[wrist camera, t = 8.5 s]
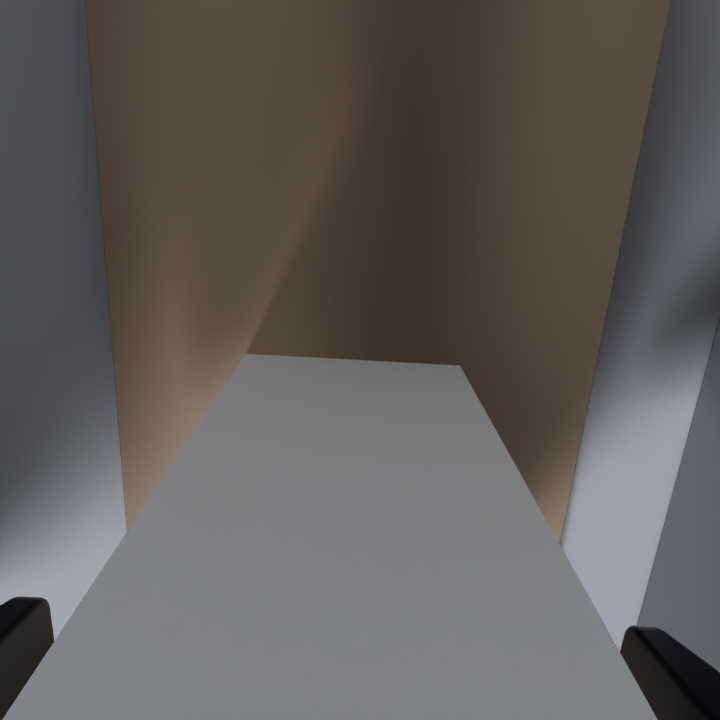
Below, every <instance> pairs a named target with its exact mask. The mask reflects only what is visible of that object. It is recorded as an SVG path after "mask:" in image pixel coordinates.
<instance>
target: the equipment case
mask: <svg viewBox="0 0 720 720" xmlns="http://www.w3.org/2000/svg"><path fill="white" fill-rule="evenodd" d="M637 626H652V627H658V628H660V629H662V630H663V631H665V632H666V633H668V634H669V635H670V636H672V637H673V638H674V639H676V640H677V641H678V642H680V643H681V644H682V645H684V646H685V647H686V648H688V649H689V650H691V651H692V652H693V653H695V654H696V655H697V656H699V657H700V658H701V659H703V660H704V661H705V662H707V663H708V664H709V665H711V666H712V667H713V668H715V669H716V670H718V671H719V672H720V321H719V324H718V328H717V332H716V336H715V339H714V343H713V347H712V350H711V354H710V358H709V361H708V365H707V369H706V373H705V376H704V380H703V384H702V387H701V391H700V395H699V399H698V402H697V406H696V410H695V413H694V417H693V421H692V424H691V428H690V432H689V436H688V439H687V443H686V447H685V450H684V454H683V458H682V461H681V465H680V469H679V473H678V476H677V480H676V484H675V487H674V491H673V495H672V499H671V502H670V506H669V510H668V513H667V517H666V521H665V524H664V528H663V532H662V536H661V539H660V543H659V547H658V550H657V554H656V558H655V561H654V565H653V569H652V573H651V576H650V580H649V584H648V587H647V591H646V595H645V599H644V602H643V606H642V610H641V613H640V617H639V621H638V624H637Z"/></svg>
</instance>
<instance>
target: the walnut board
mask: <svg viewBox="0 0 720 720" xmlns="http://www.w3.org/2000/svg"><path fill="white" fill-rule="evenodd" d="M670 1H671V0H85V7H86V20H87V33H88V45H89V58H90V71H91V83H92V96H93V109H94V121H95V134H96V147H97V159H98V172H99V185H100V197H101V210H102V223H103V235H104V248H105V261H106V273H107V286H108V299H109V311H110V324H111V337H112V349H113V362H114V375H115V388H116V400H117V413H118V426H119V438H120V451H121V464H122V476H123V489H124V502H125V514H126V527H127V531H128V530H129V528H130V527H131V525H132V524H133V522H134V521H135V519H136V518H137V516H138V515H139V513H140V512H141V510H142V509H143V507H144V506H145V504H146V503H147V501H148V500H149V498H150V497H151V495H152V494H153V492H154V491H155V489H156V488H157V486H158V485H159V483H160V482H161V480H162V479H163V477H164V476H165V474H166V473H167V471H168V470H169V468H170V467H171V465H172V464H173V462H174V461H175V459H176V458H177V456H178V455H179V453H180V452H181V450H182V449H183V447H184V446H185V444H186V443H187V441H188V440H189V438H190V437H191V435H192V434H193V432H194V431H195V429H196V428H197V426H198V425H199V423H200V422H201V420H202V419H203V417H204V416H205V414H206V413H207V411H208V410H209V408H210V407H211V405H212V404H213V402H214V401H215V399H216V398H217V396H218V395H219V393H220V392H221V390H222V388H223V387H224V385H225V384H226V382H227V381H228V379H229V378H230V376H231V375H232V373H233V372H234V370H235V369H236V367H237V366H238V364H239V363H240V361H241V360H242V358H243V357H244V355H245V354H259V355H278V356H296V357H314V358H332V359H350V360H369V361H387V362H405V363H423V364H442V365H460V367H461V368H462V370H463V372H464V374H465V375H466V377H467V379H468V381H469V383H470V384H471V386H472V388H473V390H474V392H475V393H476V395H477V397H478V399H479V401H480V402H481V404H482V406H483V408H484V410H485V411H486V413H487V415H488V417H489V418H490V420H491V422H492V424H493V426H494V427H495V429H496V431H497V433H498V435H499V436H500V438H501V440H502V442H503V444H504V445H505V447H506V449H507V451H508V453H509V454H510V456H511V458H512V460H513V462H514V463H515V465H516V467H517V469H518V470H519V472H520V474H521V476H522V478H523V479H524V481H525V483H526V485H527V487H528V488H529V490H530V492H531V494H532V496H533V497H534V499H535V501H536V503H537V505H538V506H539V508H540V510H541V512H542V513H543V515H544V517H545V519H546V521H547V522H548V524H549V526H550V528H551V530H552V531H553V533H554V535H555V537H556V539H557V540H558V542H559V544H560V539H561V534H562V529H563V524H564V519H565V515H566V510H567V505H568V500H569V495H570V490H571V485H572V480H573V475H574V471H575V466H576V461H577V456H578V451H579V446H580V441H581V436H582V431H583V427H584V422H585V417H586V412H587V407H588V402H589V397H590V392H591V387H592V383H593V378H594V373H595V368H596V363H597V358H598V353H599V348H600V343H601V339H602V334H603V329H604V324H605V319H606V314H607V309H608V304H609V299H610V295H611V290H612V285H613V280H614V275H615V270H616V265H617V260H618V255H619V251H620V246H621V241H622V236H623V231H624V226H625V221H626V216H627V211H628V207H629V202H630V197H631V192H632V187H633V182H634V177H635V172H636V167H637V163H638V158H639V153H640V148H641V143H642V138H643V133H644V128H645V123H646V119H647V114H648V109H649V104H650V99H651V94H652V89H653V84H654V79H655V75H656V70H657V65H658V60H659V55H660V50H661V45H662V40H663V35H664V31H665V26H666V21H667V16H668V11H669V6H670Z"/></svg>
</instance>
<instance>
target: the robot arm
mask: <svg viewBox="0 0 720 720" xmlns="http://www.w3.org/2000/svg"><path fill="white" fill-rule="evenodd" d="M53 643H54V635H53V628H52V621H51V613H50V607H49V603H48V602H47V600H46V599H44V598H39V597H15V598H12V599H11V600H9V601H7V602H5V603H4V604H2V605H0V720H2V719H3V718H4V716H5V715H6V713H7V712H8V710H9V709H10V707H11V706H12V704H13V703H14V701H15V700H16V698H17V697H18V695H19V694H20V692H21V691H22V689H23V688H24V686H25V685H26V683H27V682H28V680H29V679H30V677H31V676H32V674H33V673H34V671H35V670H36V668H37V667H38V665H39V664H40V662H41V661H42V659H43V658H44V656H45V655H46V653H47V652H48V650H49V649H50V647H51V646H52V644H53ZM620 653H621V655H622V657H623V659H624V660H625V662H626V664H627V666H628V668H629V669H630V671H631V673H632V675H633V677H634V678H635V680H636V682H637V684H638V686H639V687H640V689H641V691H642V693H643V695H644V696H645V698H646V700H647V702H648V703H649V705H650V707H651V709H652V711H653V712H654V714H655V716H656V718H657V720H720V672H719V671H718V670H716V669H715V668H713V667H712V666H711V665H709V664H708V663H707V662H705V661H704V660H703V659H701V658H700V657H699V656H697V655H696V654H695V653H693V652H692V651H691V650H689V649H688V648H686V647H685V646H684V645H682V644H681V643H680V642H678V641H677V640H676V639H674V638H673V637H672V636H670V635H669V634H668V633H666V632H665V631H663V630H662V629H660V628H658V627H652V626H631V627H629V628H628V629H627V630H626V632H625V635H624V638H623V642H622V646H621V650H620Z"/></svg>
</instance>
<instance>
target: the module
mask: <svg viewBox="0 0 720 720" xmlns="http://www.w3.org/2000/svg"><path fill="white" fill-rule="evenodd" d="M2 720H657V718H656V716H655V714H654V712H653V711H652V709H651V707H650V705H649V703H648V702H647V700H646V698H645V696H644V695H643V693H642V691H641V689H640V687H639V686H638V684H637V682H636V680H635V678H634V677H633V675H632V673H631V671H630V669H629V668H628V666H627V664H626V662H625V660H624V659H623V657H622V655H621V653H620V652H619V650H618V648H617V646H616V644H615V643H614V641H613V639H612V637H611V635H610V634H609V632H608V630H607V628H606V626H605V625H604V623H603V621H602V619H601V617H600V616H599V614H598V612H597V610H596V608H595V607H594V605H593V603H592V601H591V600H590V598H589V596H588V594H587V592H586V591H585V589H584V587H583V585H582V583H581V582H580V580H579V578H578V576H577V574H576V573H575V571H574V569H573V567H572V565H571V564H570V562H569V560H568V558H567V557H566V555H565V553H564V551H563V549H562V548H561V546H560V544H559V542H558V540H557V539H556V537H555V535H554V533H553V531H552V530H551V528H550V526H549V524H548V522H547V521H546V519H545V517H544V515H543V513H542V512H541V510H540V508H539V506H538V505H537V503H536V501H535V499H534V497H533V496H532V494H531V492H530V490H529V488H528V487H527V485H526V483H525V481H524V479H523V478H522V476H521V474H520V472H519V470H518V469H517V467H516V465H515V463H514V462H513V460H512V458H511V456H510V454H509V453H508V451H507V449H506V447H505V445H504V444H503V442H502V440H501V438H500V436H499V435H498V433H497V431H496V429H495V427H494V426H493V424H492V422H491V420H490V418H489V417H488V415H487V413H486V411H485V410H484V408H483V406H482V404H481V402H480V401H479V399H478V397H477V395H476V393H475V392H474V390H473V388H472V386H471V384H470V383H469V381H468V379H467V377H466V375H465V374H464V372H463V370H462V368H461V367H460V365H442V364H423V363H405V362H387V361H369V360H350V359H332V358H314V357H296V356H278V355H259V354H245V355H244V357H243V358H242V360H241V361H240V363H239V364H238V366H237V367H236V369H235V370H234V372H233V373H232V375H231V376H230V378H229V379H228V381H227V382H226V384H225V385H224V387H223V388H222V390H221V392H220V393H219V395H218V396H217V398H216V399H215V401H214V402H213V404H212V405H211V407H210V408H209V410H208V411H207V413H206V414H205V416H204V417H203V419H202V420H201V422H200V423H199V425H198V426H197V428H196V429H195V431H194V432H193V434H192V435H191V437H190V438H189V440H188V441H187V443H186V444H185V446H184V447H183V449H182V450H181V452H180V453H179V455H178V456H177V458H176V459H175V461H174V462H173V464H172V465H171V467H170V468H169V470H168V471H167V473H166V474H165V476H164V477H163V479H162V480H161V482H160V483H159V485H158V486H157V488H156V489H155V491H154V492H153V494H152V495H151V497H150V498H149V500H148V501H147V503H146V504H145V506H144V507H143V509H142V510H141V512H140V513H139V515H138V516H137V518H136V519H135V521H134V522H133V524H132V525H131V527H130V528H129V530H128V531H127V533H126V534H125V536H124V537H123V539H122V540H121V542H120V543H119V545H118V546H117V548H116V549H115V551H114V552H113V554H112V555H111V557H110V558H109V560H108V561H107V563H106V564H105V566H104V567H103V569H102V570H101V572H100V573H99V575H98V577H97V578H96V580H95V581H94V583H93V584H92V586H91V587H90V589H89V590H88V592H87V593H86V595H85V596H84V598H83V599H82V601H81V602H80V604H79V605H78V607H77V608H76V610H75V611H74V613H73V614H72V616H71V617H70V619H69V620H68V622H67V623H66V625H65V626H64V628H63V629H62V631H61V632H60V634H59V635H58V637H57V638H56V640H55V641H54V643H53V644H52V646H51V647H50V649H49V650H48V652H47V653H46V655H45V656H44V658H43V659H42V661H41V662H40V664H39V665H38V667H37V668H36V670H35V671H34V673H33V674H32V676H31V677H30V679H29V680H28V682H27V683H26V685H25V686H24V688H23V689H22V691H21V692H20V694H19V695H18V697H17V698H16V700H15V701H14V703H13V704H12V706H11V707H10V709H9V710H8V712H7V713H6V715H5V716H4V718H3V719H2Z"/></svg>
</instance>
